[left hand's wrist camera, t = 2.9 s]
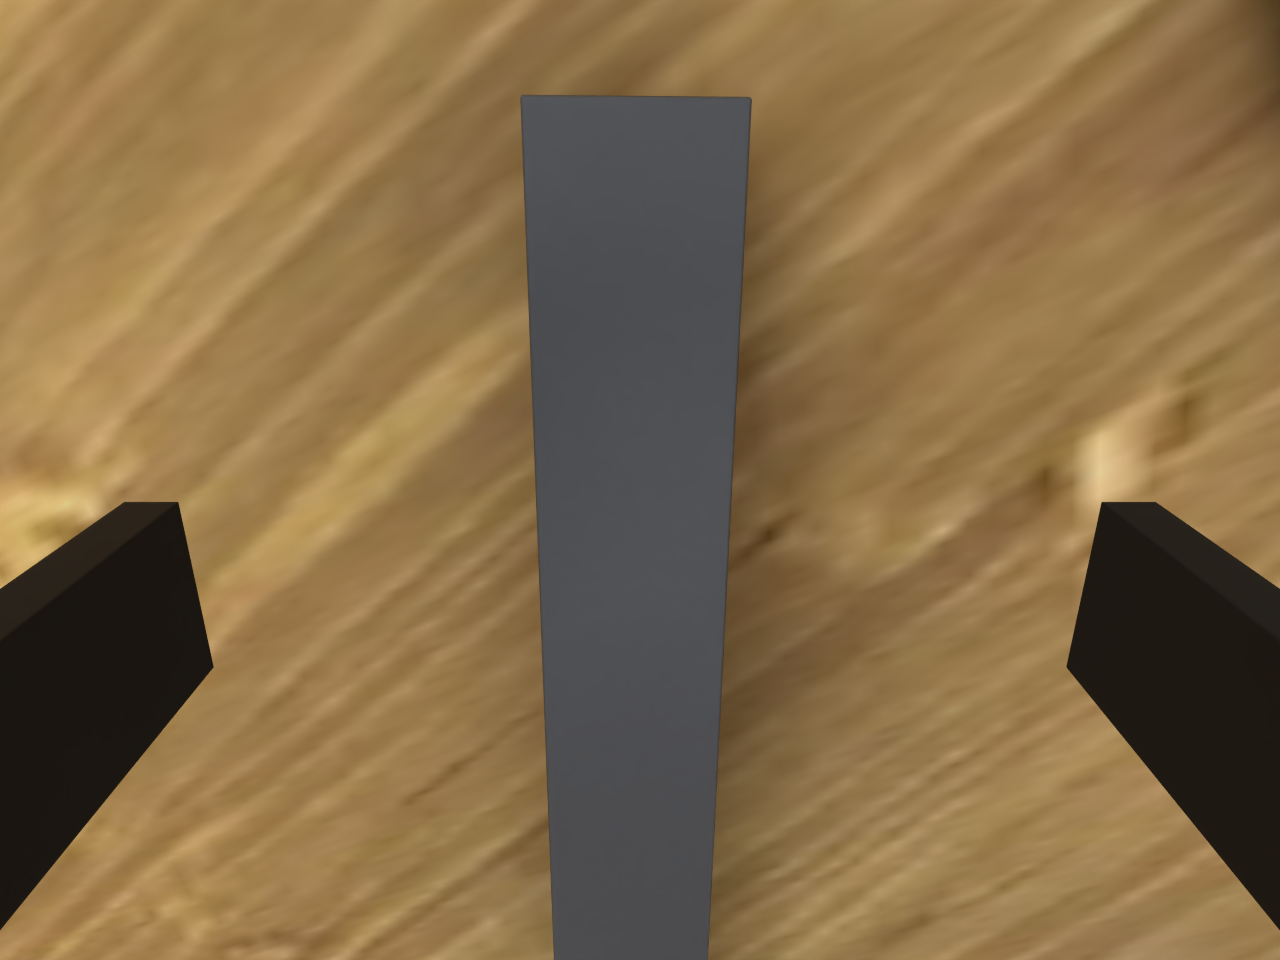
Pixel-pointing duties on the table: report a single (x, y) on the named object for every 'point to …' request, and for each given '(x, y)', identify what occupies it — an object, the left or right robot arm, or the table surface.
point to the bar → (633, 498)
